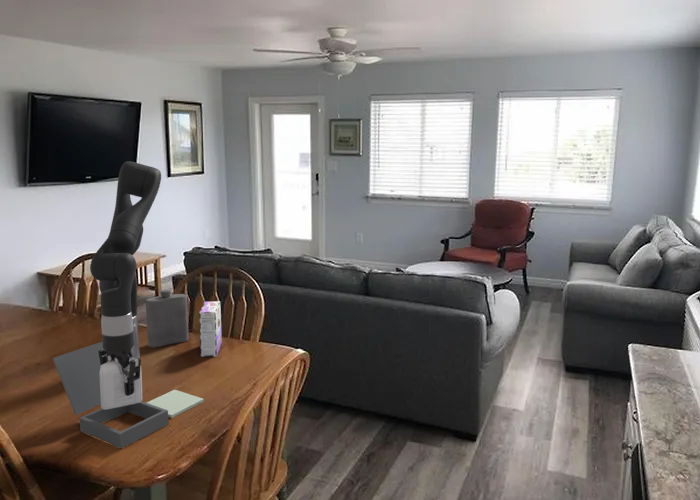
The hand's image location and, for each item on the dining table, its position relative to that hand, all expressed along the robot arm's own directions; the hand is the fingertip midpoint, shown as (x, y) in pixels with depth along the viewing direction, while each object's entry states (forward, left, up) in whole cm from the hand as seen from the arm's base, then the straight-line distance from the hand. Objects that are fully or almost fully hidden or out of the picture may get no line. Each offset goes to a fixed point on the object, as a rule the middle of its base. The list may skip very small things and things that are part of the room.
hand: (121, 391), depth 151 cm
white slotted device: (0, 0, -4) cm, 4 cm away
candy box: (-22, +55, -11) cm, 60 cm away
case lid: (-12, 0, +1) cm, 12 cm away
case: (0, 0, -10) cm, 10 cm away
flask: (-41, +52, -11) cm, 67 cm away
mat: (0, +17, -10) cm, 20 cm away
